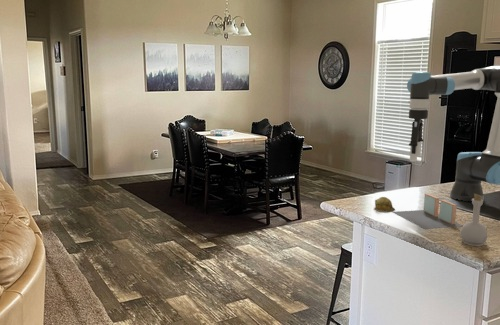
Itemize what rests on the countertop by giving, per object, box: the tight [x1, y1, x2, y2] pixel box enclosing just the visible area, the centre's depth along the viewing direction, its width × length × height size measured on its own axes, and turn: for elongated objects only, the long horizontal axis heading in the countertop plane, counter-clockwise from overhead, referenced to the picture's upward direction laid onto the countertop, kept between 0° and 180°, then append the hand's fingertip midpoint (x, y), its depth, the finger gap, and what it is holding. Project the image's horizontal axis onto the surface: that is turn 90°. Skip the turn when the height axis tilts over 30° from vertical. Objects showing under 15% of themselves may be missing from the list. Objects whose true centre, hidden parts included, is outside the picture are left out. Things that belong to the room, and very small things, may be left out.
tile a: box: [422, 193, 440, 217], centre depth 199 cm, size 2×8×8 cm, turn 14°
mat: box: [392, 209, 464, 230], centre depth 192 cm, size 18×24×1 cm
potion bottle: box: [459, 194, 488, 247], centre depth 164 cm, size 9×9×18 cm
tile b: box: [439, 199, 458, 224], centre depth 188 cm, size 2×8×8 cm, turn 14°
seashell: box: [374, 196, 396, 213], centre depth 206 cm, size 10×7×8 cm
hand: (415, 158), depth 200 cm, fingers open, 13 cm apart
